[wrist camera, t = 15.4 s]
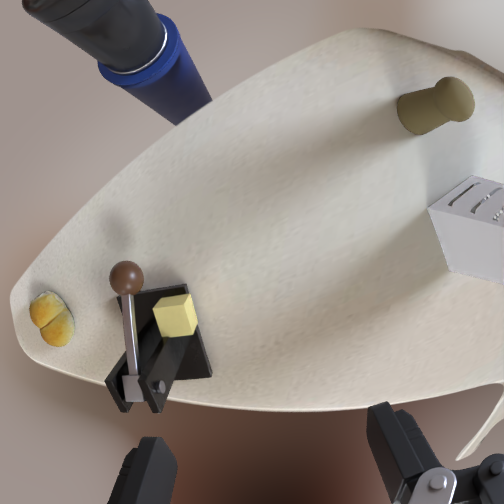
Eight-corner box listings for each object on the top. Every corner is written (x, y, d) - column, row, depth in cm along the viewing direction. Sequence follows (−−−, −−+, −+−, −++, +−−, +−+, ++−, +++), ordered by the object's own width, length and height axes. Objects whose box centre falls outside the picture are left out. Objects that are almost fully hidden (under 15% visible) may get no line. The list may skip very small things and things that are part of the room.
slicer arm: (120, 268, 33) (102, 259, 29) (148, 263, 33) (132, 253, 29) (132, 397, 28) (114, 402, 25) (163, 397, 28) (148, 403, 24)
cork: (411, 141, 32) (461, 131, 22) (388, 101, 31) (432, 77, 20) (439, 125, 32) (489, 113, 21) (418, 87, 30) (463, 64, 20)
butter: (160, 298, 36) (152, 308, 33) (190, 293, 36) (184, 304, 32) (169, 325, 37) (162, 338, 33) (198, 321, 37) (193, 334, 33)
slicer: (119, 294, 37) (67, 341, 24) (186, 283, 37) (152, 334, 23) (150, 377, 40) (120, 439, 27) (212, 372, 40) (198, 442, 26)
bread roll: (57, 346, 40) (45, 357, 36) (31, 300, 38) (17, 309, 34) (86, 333, 39) (74, 345, 35) (57, 283, 37) (42, 291, 33)
